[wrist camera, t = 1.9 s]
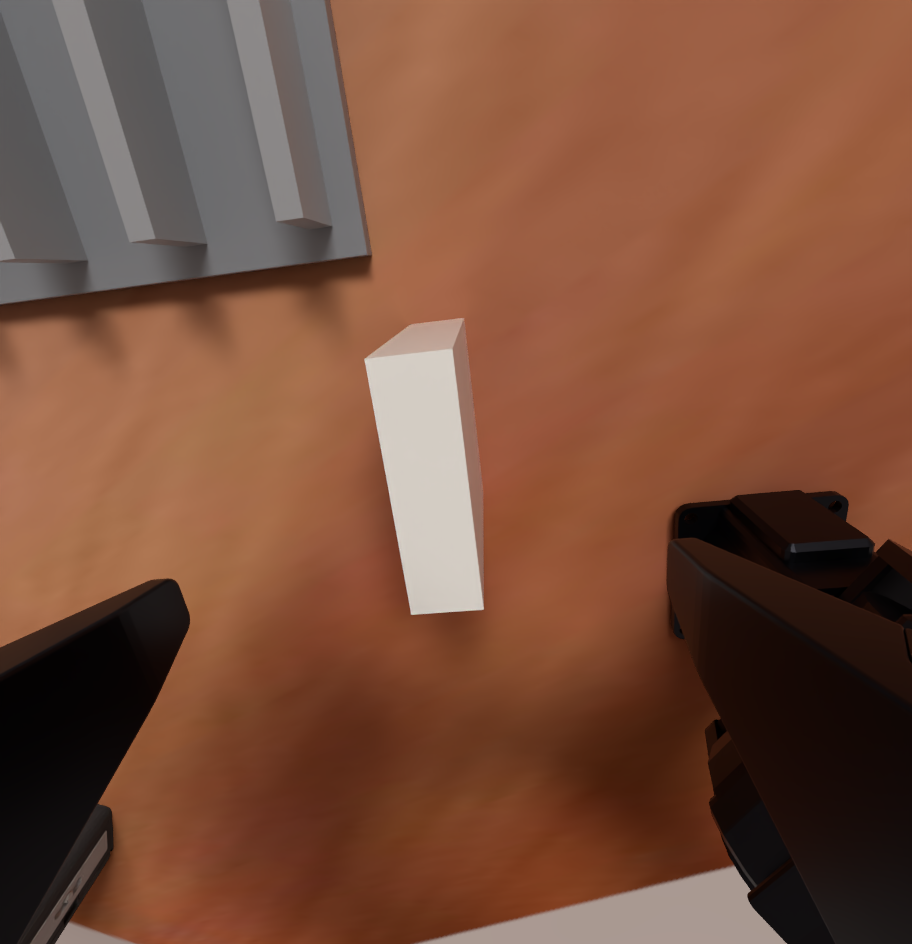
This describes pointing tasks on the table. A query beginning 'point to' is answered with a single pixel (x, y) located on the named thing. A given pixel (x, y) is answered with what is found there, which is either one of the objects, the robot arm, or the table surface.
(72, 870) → the camera
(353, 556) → the table surface
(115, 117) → the dish rack
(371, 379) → the white slab
